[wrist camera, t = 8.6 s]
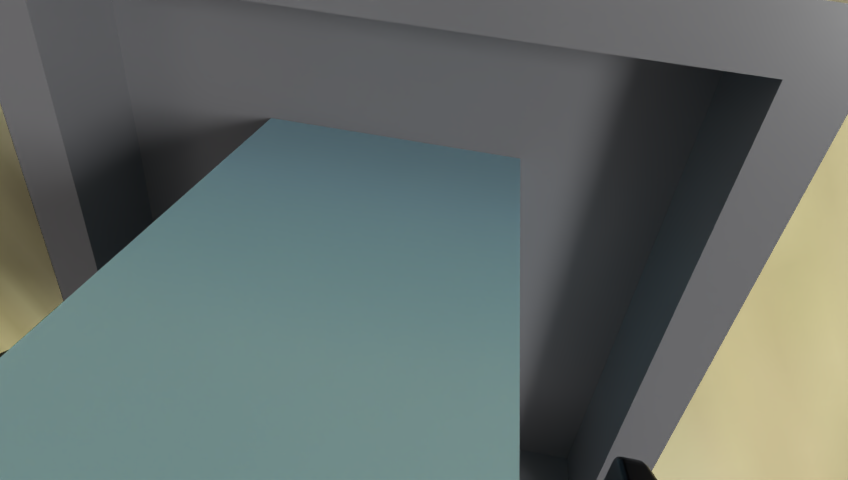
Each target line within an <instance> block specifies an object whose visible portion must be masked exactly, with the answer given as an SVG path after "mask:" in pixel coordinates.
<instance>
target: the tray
mask: <svg viewBox="0 0 848 480" xmlns="http://www.w3.org/2000/svg"><path fill="white" fill-rule="evenodd" d="M0 104H1V107H2V110H3V113H4V116H5V119H6V122H7V126H8V129H9V132H10V135H11V138H12V141H13V144H14V147H15V151H16V154H17V157H18V160H19V163H20V166H21V169H22V172H23V176H24V179H25V182H26V185H27V188H28V191H29V194H30V197H31V200H32V204H33V207H34V210H35V213H36V216H37V219H38V222H39V225H40V229H41V232H42V235H43V238H44V241H45V244H46V247H47V250H48V254H49V257H50V260H51V263H52V266H53V269H54V272H55V275H56V278H57V282H58V285H59V288H60V291H61V294H62V297H63V300H64V301H65V300H66V299H67V298H68V297H69V296H70V295H71V294H73V293H74V292H75V291H76V290H77V289H78V288H79V287H81V286H82V285H83V284H84V283H85V282H86V281H87V280H88V279H90V278H91V277H92V276H93V275H94V274H95V273H96V272H98V271H99V270H100V269H101V268H102V267H103V266H104V265H105V264H107V263H108V262H109V261H110V260H111V259H112V258H113V257H114V256H116V255H117V254H118V253H119V252H120V251H121V250H122V249H124V248H125V247H126V246H127V245H128V244H129V243H130V242H131V241H133V240H134V239H135V238H136V237H137V236H138V235H139V234H141V233H142V232H143V231H144V230H145V229H146V228H147V227H148V226H150V225H151V224H152V223H153V222H154V221H155V220H156V219H157V218H159V217H160V216H161V215H162V214H163V213H164V212H165V211H167V210H168V209H169V208H170V207H171V206H172V205H173V204H174V203H176V202H177V201H178V200H179V199H180V198H181V197H182V196H184V195H185V194H186V193H187V192H188V191H189V190H190V189H191V188H193V187H194V186H195V185H196V184H197V183H198V182H199V181H200V180H202V179H203V178H204V177H205V176H206V175H207V174H208V173H210V172H211V171H212V170H213V169H214V168H215V167H216V166H217V165H219V164H220V163H221V162H222V161H223V160H224V159H225V158H227V157H228V156H229V155H230V154H231V153H232V152H233V151H234V150H236V149H237V148H238V147H239V146H240V145H241V144H242V143H243V142H245V141H246V140H247V139H248V138H249V137H250V136H251V135H253V134H254V133H255V132H256V131H257V130H258V129H259V128H260V127H262V126H263V125H264V124H265V123H266V122H267V121H268V120H270V119H271V118H274V119H280V120H286V121H292V122H298V123H304V124H311V125H317V126H323V127H329V128H335V129H341V130H347V131H354V132H360V133H366V134H372V135H378V136H384V137H390V138H396V139H403V140H409V141H415V142H421V143H427V144H433V145H439V146H446V147H452V148H458V149H464V150H470V151H476V152H482V153H489V154H495V155H501V156H507V157H513V158H519V159H520V449H519V480H604V479H605V476H606V474H607V472H608V470H609V468H610V466H611V464H612V462H613V460H614V459H615V458H616V457H618V456H621V457H626V458H631V459H637V460H640V461H643V462H644V463H645V464H646V465H647V466H648V467H649V468H650V470H651V471H652V469H653V468H654V466H655V464H656V462H657V460H658V459H659V457H660V455H661V453H662V451H663V449H664V448H665V446H666V444H667V442H668V440H669V438H670V437H671V435H672V433H673V431H674V429H675V428H676V426H677V424H678V422H679V420H680V418H681V417H682V415H683V413H684V411H685V409H686V407H687V406H688V404H689V402H690V400H691V398H692V397H693V395H694V393H695V391H696V389H697V387H698V386H699V384H700V382H701V380H702V378H703V377H704V375H705V373H706V371H707V369H708V367H709V366H710V364H711V362H712V360H713V358H714V356H715V355H716V353H717V351H718V349H719V347H720V346H721V344H722V342H723V340H724V338H725V336H726V335H727V333H728V331H729V329H730V327H731V326H732V324H733V322H734V320H735V318H736V316H737V315H738V313H739V311H740V309H741V307H742V305H743V304H744V302H745V300H746V298H747V296H748V295H749V293H750V291H751V289H752V287H753V285H754V284H755V282H756V280H757V278H758V276H759V274H760V273H761V271H762V269H763V267H764V265H765V264H766V262H767V260H768V258H769V256H770V254H771V253H772V251H773V249H774V247H775V245H776V244H777V242H778V240H779V238H780V236H781V234H782V233H783V231H784V229H785V227H786V225H787V223H788V222H789V220H790V218H791V216H792V214H793V213H794V211H795V209H796V207H797V205H798V203H799V202H800V200H801V198H802V196H803V194H804V193H805V191H806V189H807V187H808V185H809V183H810V182H811V180H812V178H813V176H814V174H815V172H816V171H817V169H818V167H819V165H820V163H821V162H822V160H823V158H824V156H825V154H826V152H827V151H828V149H829V147H830V145H831V143H832V141H833V140H834V138H835V136H836V134H837V132H838V131H839V129H840V127H841V125H842V123H843V121H844V120H845V118H846V116H847V114H848V0H0Z"/></svg>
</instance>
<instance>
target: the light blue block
mask: <svg viewBox="0 0 848 480" xmlns="http://www.w3.org/2000/svg"><path fill="white" fill-rule="evenodd" d="M519 449H520V159H519V158H513V157H507V156H501V155H495V154H489V153H482V152H476V151H470V150H464V149H458V148H452V147H446V146H439V145H433V144H427V143H421V142H415V141H409V140H403V139H396V138H390V137H384V136H378V135H372V134H366V133H360V132H354V131H347V130H341V129H335V128H329V127H323V126H317V125H311V124H304V123H298V122H292V121H286V120H280V119H274V118H271V119H270V120H268V121H267V122H266V123H265V124H264V125H263V126H262V127H260V128H259V129H258V130H257V131H256V132H255V133H254V134H253V135H251V136H250V137H249V138H248V139H247V140H246V141H245V142H243V143H242V144H241V145H240V146H239V147H238V148H237V149H236V150H234V151H233V152H232V153H231V154H230V155H229V156H228V157H227V158H225V159H224V160H223V161H222V162H221V163H220V164H219V165H217V166H216V167H215V168H214V169H213V170H212V171H211V172H210V173H208V174H207V175H206V176H205V177H204V178H203V179H202V180H200V181H199V182H198V183H197V184H196V185H195V186H194V187H193V188H191V189H190V190H189V191H188V192H187V193H186V194H185V195H184V196H182V197H181V198H180V199H179V200H178V201H177V202H176V203H174V204H173V205H172V206H171V207H170V208H169V209H168V210H167V211H165V212H164V213H163V214H162V215H161V216H160V217H159V218H157V219H156V220H155V221H154V222H153V223H152V224H151V225H150V226H148V227H147V228H146V229H145V230H144V231H143V232H142V233H141V234H139V235H138V236H137V237H136V238H135V239H134V240H133V241H131V242H130V243H129V244H128V245H127V246H126V247H125V248H124V249H122V250H121V251H120V252H119V253H118V254H117V255H116V256H114V257H113V258H112V259H111V260H110V261H109V262H108V263H107V264H105V265H104V266H103V267H102V268H101V269H100V270H99V271H98V272H96V273H95V274H94V275H93V276H92V277H91V278H90V279H88V280H87V281H86V282H85V283H84V284H83V285H82V286H81V287H79V288H78V289H77V290H76V291H75V292H74V293H73V294H71V295H70V296H69V297H68V298H67V299H66V300H65V301H64V302H62V303H61V304H60V305H59V306H58V307H57V308H56V309H55V310H53V311H52V312H51V313H50V314H49V315H48V316H47V317H45V318H44V319H43V320H42V321H41V322H40V323H39V324H38V325H36V326H35V327H34V328H33V329H32V330H31V331H30V332H28V333H27V334H26V335H25V336H24V337H23V338H22V339H21V340H19V341H18V342H17V343H16V344H15V345H14V346H13V347H12V348H10V349H9V350H8V351H7V352H6V353H5V354H4V355H2V356H1V357H0V480H519Z"/></svg>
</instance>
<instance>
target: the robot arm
mask: <svg viewBox="0 0 848 480" xmlns="http://www.w3.org/2000/svg"><path fill="white" fill-rule="evenodd" d="M7 351H8V350H7ZM7 351H5V352H2V353H0V357H1V356H2V355H4V354H5V353H6V352H7ZM604 480H657V479H656V477H655V476H654V474H653V473H652V471H651V470H650V468H649V467H648V466H647V465H646V464H645V463H644V462H643V461H640V460H637V459H631V458H626V457H621V456H618V457H616V458H615V459H614V460H613V462H612V464H611V466H610V468H609V470H608V472H607V474H606V476H605V479H604Z"/></svg>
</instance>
